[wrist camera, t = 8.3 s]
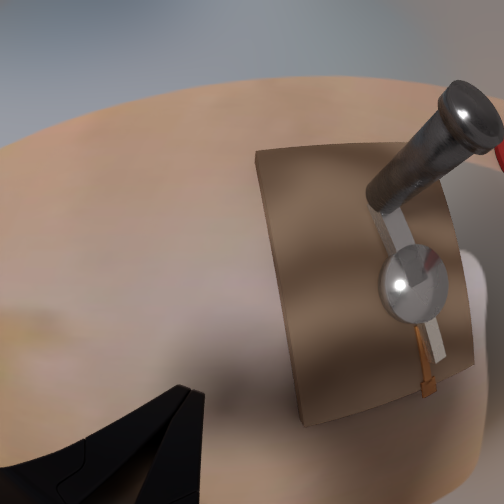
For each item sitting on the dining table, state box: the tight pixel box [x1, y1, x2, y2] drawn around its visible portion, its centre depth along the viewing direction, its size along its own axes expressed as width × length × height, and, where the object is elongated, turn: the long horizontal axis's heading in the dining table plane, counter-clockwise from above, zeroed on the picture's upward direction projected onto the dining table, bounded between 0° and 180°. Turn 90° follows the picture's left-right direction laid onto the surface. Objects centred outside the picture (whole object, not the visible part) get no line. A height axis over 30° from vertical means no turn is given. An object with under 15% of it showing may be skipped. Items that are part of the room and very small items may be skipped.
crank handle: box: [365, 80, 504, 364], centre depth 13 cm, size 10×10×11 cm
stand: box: [255, 142, 474, 427], centre depth 19 cm, size 19×14×2 cm
